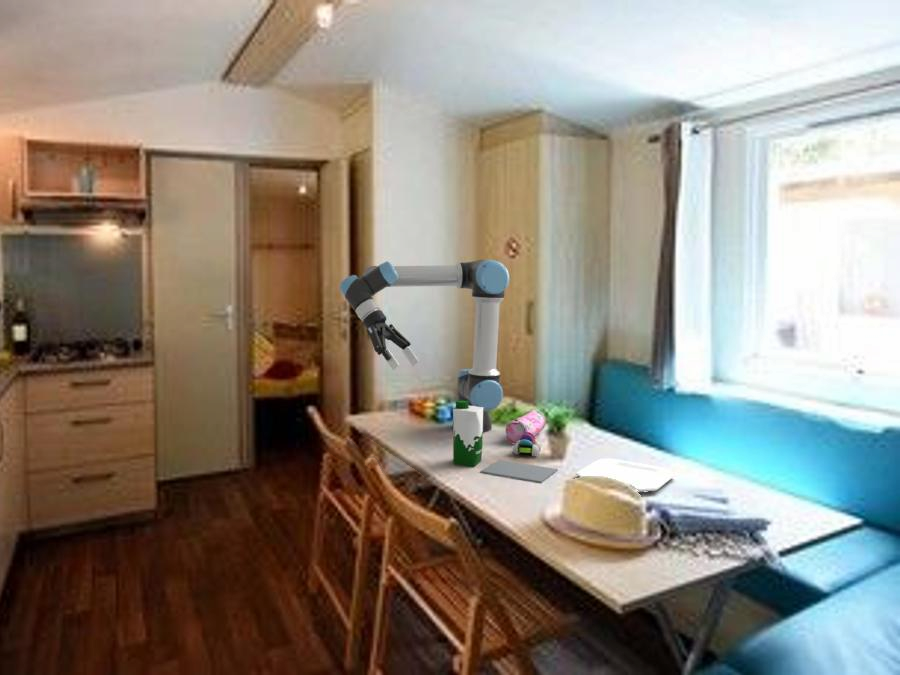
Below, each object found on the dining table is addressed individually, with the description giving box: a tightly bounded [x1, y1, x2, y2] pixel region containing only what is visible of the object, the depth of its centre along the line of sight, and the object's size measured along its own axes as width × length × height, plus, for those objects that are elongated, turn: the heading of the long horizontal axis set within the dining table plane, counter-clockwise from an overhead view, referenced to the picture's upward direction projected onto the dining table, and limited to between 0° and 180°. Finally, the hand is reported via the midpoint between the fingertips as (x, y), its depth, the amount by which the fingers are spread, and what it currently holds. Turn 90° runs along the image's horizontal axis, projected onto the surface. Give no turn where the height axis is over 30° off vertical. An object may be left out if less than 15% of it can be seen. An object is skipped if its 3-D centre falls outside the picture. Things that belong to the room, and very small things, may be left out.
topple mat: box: [479, 459, 559, 484], centre depth 218 cm, size 20×14×1 cm
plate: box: [575, 458, 676, 493], centre depth 212 cm, size 25×25×2 cm
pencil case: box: [505, 409, 547, 445], centre depth 258 cm, size 21×9×9 cm, turn 152°
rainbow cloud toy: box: [512, 432, 542, 457], centre depth 238 cm, size 8×10×7 cm
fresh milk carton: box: [452, 399, 484, 468], centre depth 225 cm, size 9×9×20 cm
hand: (406, 365), depth 235 cm, fingers open, 13 cm apart
